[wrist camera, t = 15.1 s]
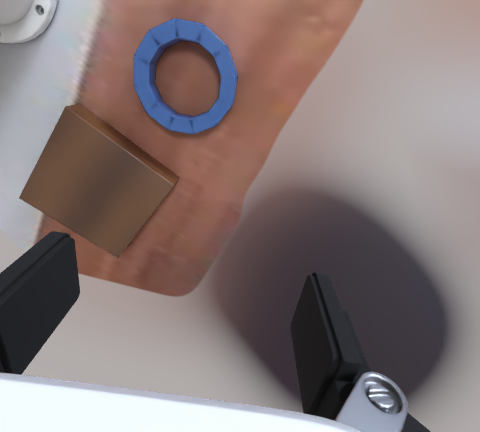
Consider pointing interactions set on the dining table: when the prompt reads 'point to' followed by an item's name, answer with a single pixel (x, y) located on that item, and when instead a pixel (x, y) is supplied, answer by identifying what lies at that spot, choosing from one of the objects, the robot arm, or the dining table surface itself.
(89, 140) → the platform
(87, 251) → the dining table surface
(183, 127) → the ring
